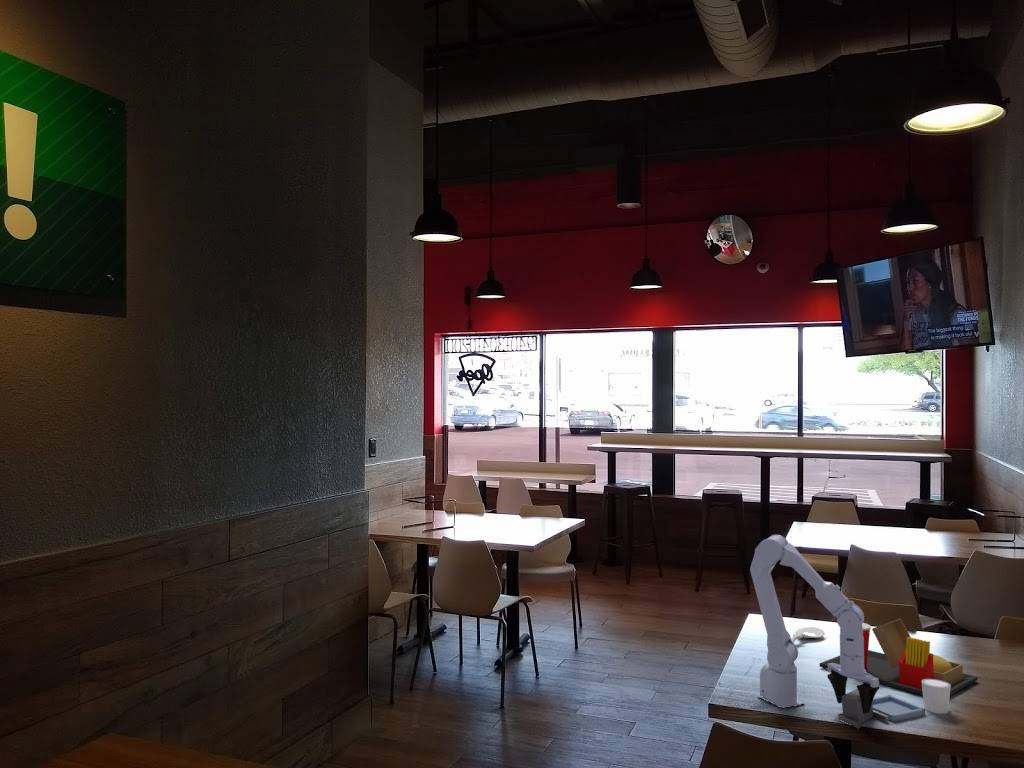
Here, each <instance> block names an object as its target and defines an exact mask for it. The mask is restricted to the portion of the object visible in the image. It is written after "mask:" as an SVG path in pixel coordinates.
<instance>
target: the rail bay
mask: <svg viewBox="0 0 1024 768" xmlns="http://www.w3.org/2000/svg"><path fill="white" fill-rule="evenodd" d="M837 717H838V718H837V720H838V719H839V720H842V721H844V722H846V723H848V724H851V725H853V726H854V727H856V728H857V729H856V728H855V729H856V730H860V729H861V728H860V727H861V726H862V723H861V722H859V721H857V720H854V719H852V718H850V717H848V716H845V715H843V713H838V715H837ZM873 717H875V718H874V719H876V718H877V719H876V720H878V719H879V721H880V720H881V721H880V722H883V723H885V722H887V723H889V721H890V720H889V716H887V715H885V714H882V713H880V712H877V711H875V710H873ZM873 717H872V718H873ZM839 720H838V721H839ZM846 723H845V724H846ZM848 724H847V725H848ZM854 727H853V728H854ZM859 728H860V729H859Z"/></svg>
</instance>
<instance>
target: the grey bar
mask: <svg viewBox="0 0 1024 768" xmlns="http://www.w3.org/2000/svg"><path fill="white" fill-rule="evenodd" d="M841 707H842V714H843V715H845V716H848V717H850V718H852V719H854V720H857V721H859V722H863V721H864V722H866V721H868V720H869V719H871V718H873V702H872V705H871V709H870V712H869V713H863V708H862V700H861V698H860V695H859V691H858V688H854V689H853V690H852V691H850V692H846V695H844V696H842V703H841ZM864 722H863V723H864Z"/></svg>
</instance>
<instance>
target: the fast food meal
mask: <svg viewBox="0 0 1024 768" xmlns="http://www.w3.org/2000/svg"><path fill="white" fill-rule="evenodd" d="M862 627H863V637H864V669H865V670H866V673H868V674H870V675H871V676H873V677H875V678H877V679H879V683H880V684H879V685H882V686H886V685H887V687H890V688H893V687H894V689H896V690H897V689H898V690H901V691H903V692H904V691H905V692H909V693H912V694H915V695H918V696H919V695H920V696H922V697H923V691H922V680H924V679H936V680H941V681H945V682H947V683H949V684H950V685H951V688H950V696H951V695H953V694H955V693H956V692H958V691H960V690H962V689H964V688H965V687H968V686H969V685H971V684H973V683H975V682H976V681H978V676H976V675H972V674H969V673H964V672H963V670H964V669H963V667H964V666H963V664H961V663H957V662H953V661H949V660H947V659H945V657H942V656H939V655H936V654H934V653H930V652H931V651H930V650H931V641H928V640H923V639H918V638H915V637H911V635H910V633H909V632H908V629H907V627H906V625H905V624H904V622H903V620H902V618H897V619H896V620H892V621H889V622H887V623H884V624H880V625H878V626H876V627H873V628H872V626H871V625H870V624H868V623H865V622H863V623H862ZM871 630H872V632H873V634H874V636H875V638H876V640H877V643H879V644H878V645H879V646H880V648H881V650H882V652H883V653H882V652H878V651H874V650H870V649H869V646H870V645H869V644H870V643H869V642H870V635H871V634H870V633H871ZM829 663H835V664H839V665H840V655H837V656H836V657H833V658H829V659H827V660H824V661H822V662H819V667H821V668H822V667H823V669H825V668H827V669H826V670H828V664H829Z"/></svg>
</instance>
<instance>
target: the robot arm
mask: <svg viewBox="0 0 1024 768" xmlns="http://www.w3.org/2000/svg"><path fill="white" fill-rule="evenodd" d="M779 561H780V563H779V565H781V566H785V567H791V568H792V569H793V570H795V572H797V573H798V575H800V576H801V577H802V579H803V580H805V581H806V582H807V583H808V584H809V585H810V586H811V587H812V588H813V589H814V590H815V591H814V592H815V598H816V599H817V600H818V601H819V602H820V603H821V604H822V605H823V607H825V609H827V611H829V613H830V614H832V616H834V617H835V618H837V619H836V622H837V625H838V627H839V656H840V665H839V664H835V663H829V664H828V669H827V672H830V673H828V674H827V679H828V680H829V682H830V684H831V686H832V688H833V691H834V695H835V698H836V702H837V704H842V696H844V695H846V694H847V691H846V690H847V683H848V682H847V681H848V679H852V680H855V681H857V682H859V683H861V684H857V685H856V689H858V691H859V695H860V698H861V700H862V708H863V713H869V712H870V709H871V705H872V701H873V698H875V696H876V694H877V693H878V691H879V689H880V684H879V679H877V678H875V677H873V676H871V675H870V674H868V673H866V670H865V669H864V637H863V627H862V623H864V621H865V614H864V611H863V610H862V608H861V607H860V606H859V605H857V604H855V602H854V601H853V600H850V599H849V598H848V597H847V596H846V595H845V594H844V593H843V592H842V591H841V587H840V586H839V585H838V584H836V585H835V584H834V583H833V582H831V581H826V580H824V579H823V578H822V577H821V575H820V574H819V573H818V572H817V571H816V570H815V569H814V568H813V567H812V565H811V564H810V563H809V562H808V561H807V560H806V558H805V557H804V556H803V554H801V553H800V552H799V551H798V549H797V548H796V547H795V546H794V544H792V543H790V542H789V541H788V540H787V539H786V537H784V536H783V535H780V534H771V536H769V537H768V538H765V539H763V540H762V541H760V543H759V544H758V545H757V546H756V547H755V549H754V555H753V558H752V561H751V564H750V568H749V571H750V572H749V573H750V575H751V578H752V583H753V585H754V587H753V588H754V591H755V593H756V597H757V601H758V605H759V608H760V612H761V615H762V619H763V623H764V627H765V630H766V634H767V636H766V646H767V655H766V661H767V663H765V664H764V665H762V667H761V669H760V672H759V694H758V695H759V696H763V697H761V698H764V699H765V700H768V701H769V702H772V703H773V704H776V705H778V706H780V707H782V708H783V707H789V706H794V707H796V706H795V705H799V706H802V705H801V704H804V705H805V702H804V701H801V700H799V699H798V689H797V688H798V668H797V666H796V664H795V661H796V660H797V659H798V656H799V651H798V648H797V645H796V644H795V642H794V643H793V642H792V640H791V638H792V637H791V634H790V633H789V632H788V630H787V628H786V623H785V622H784V617H783V614H782V611H781V607H780V603H779V599H778V595H777V592H776V588H775V583H774V581H773V577H772V574H771V573H772V571H773V569H774V568H775V565H776V564H777V563H778V562H779ZM761 698H760V699H761ZM765 700H764V701H765ZM769 702H768V703H769ZM773 704H772V705H773ZM782 708H781V709H782ZM789 708H790V707H789Z"/></svg>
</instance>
